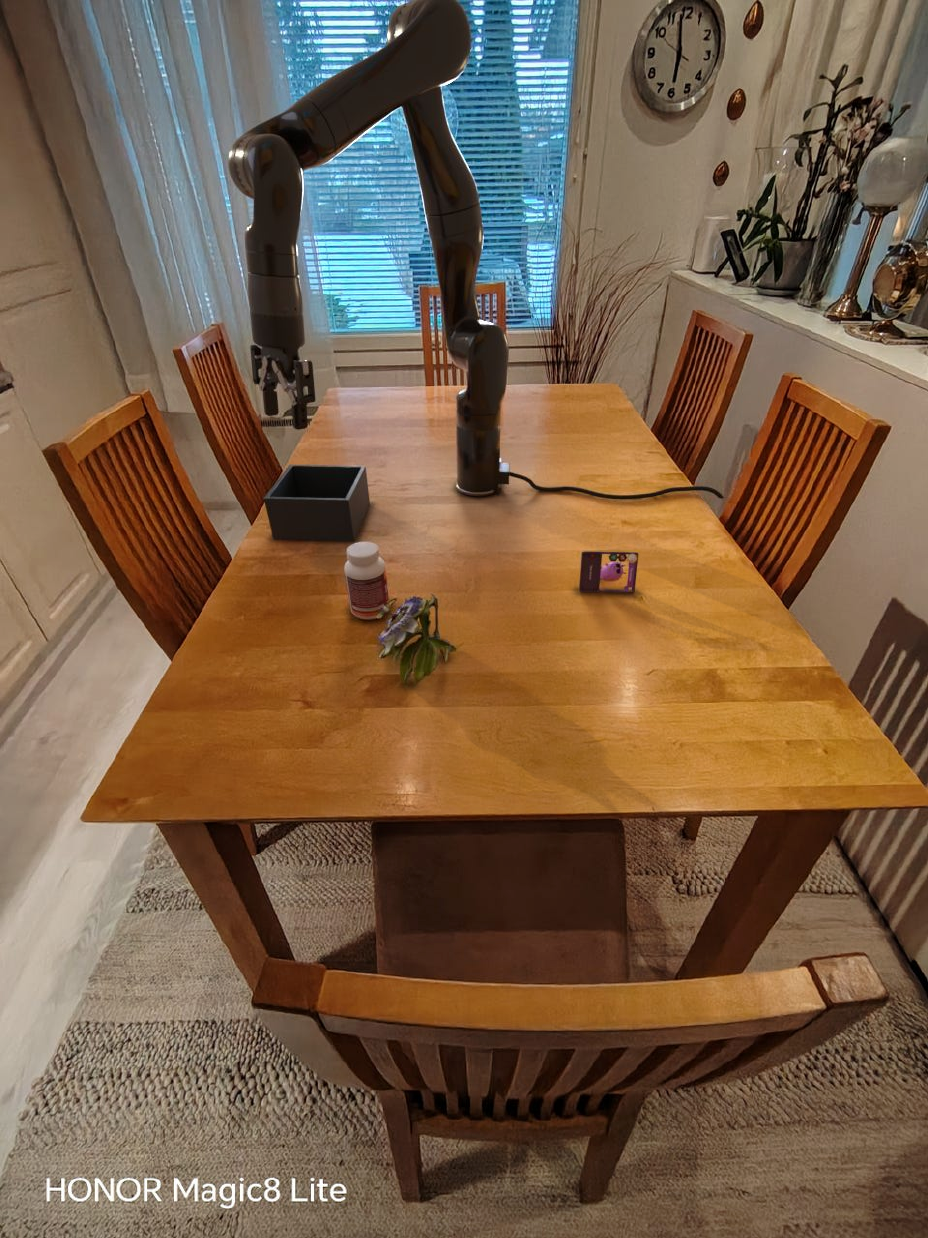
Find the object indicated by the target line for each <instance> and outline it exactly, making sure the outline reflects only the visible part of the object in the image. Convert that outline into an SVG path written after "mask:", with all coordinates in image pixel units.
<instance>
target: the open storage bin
mask: <svg viewBox="0 0 928 1238" xmlns="http://www.w3.org/2000/svg"><path fill="white" fill-rule="evenodd" d="M367 474H368V473H367V467H366V465H332V464H331V465H327V464H326V465H325V464H323V465H322V464H289V465H288V466H287V467H286V468H285V470H284V471H283V473H281V475H280V477H279V478H278V479H277V480H276V482H275V483H274V485H272V487H271V488H270V490H268V492H267V494H266V495H265V496H264V498H263V502H264V506H265V511H266V515H267V519H268V524H269V528H270V531H271V536H272V540H275V541H310V542H311V541H313V542H314V541H315V542H348V543H349V542H350V543H351V542H353V543H354V542H355V541H356V539H357V536H358V534H359V531H360V529H361V526H362V525H363V522H364V520H365V517H366V515H367V512H368V510H369V509H370V506H371V501H370V491H369V483H368V475H367Z"/></svg>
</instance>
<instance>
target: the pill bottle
mask: <svg viewBox="0 0 928 1238" xmlns="http://www.w3.org/2000/svg"><path fill="white" fill-rule="evenodd" d="M346 558H347V561H346V562H345V563H344V569H343V570H344V577H345V583H346V589H347V590H346V591H347V596H348V602H349V608H350V612H351V614H352V615H353V617H356V618H358V619H362V620H368V621H369V620H370V621H371V620H376V616H377V613H378V612H379V611H380V610H381V609H382V606H384V605H386V604H387V603H388V602H389V601H390V599H389V597H390V596H389V588H388V587H389V586H388V579H387V578H388V577H387V569H386V568H387V567H386V563H385V561H384V559H383V558H381V557H380V551H379V546H378V545H377V543H374V542H371V541H359V542H355V543H354V542H353V543H352V544H350V545H348V547H347V549H346Z"/></svg>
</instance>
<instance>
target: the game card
mask: <svg viewBox="0 0 928 1238" xmlns="http://www.w3.org/2000/svg"><path fill="white" fill-rule="evenodd" d="M603 555H609V556H608V559H609V561H610V562H608V563H604V564H605V565H604V566H602V562H603ZM627 555H628V556H627ZM617 560H618V561H617ZM626 560H627V562H628V571H627V572H625V571H624V567H627V565H626V564H622V563H623V562H626ZM638 562H639V553H638V552H637V551H601V550H600V551H599V550H598V551H596V550H586V551H585V550H582V551H581V557H580V568H579V569H580V571H579V584H578V591H579V592H580V593H605V594H606V593H609V594H610V593H611V594H618V593H619V594H635V592H636V583H637V574H638V564H639V563H638ZM623 575H627V582H626V585H625V586H624V587H623V589H600V587H601V586H600V585H601V580H603V581H604V582H611V583H612V582H616V581H618V580H620V579H623V577H622V576H623ZM630 588H631V589H630Z"/></svg>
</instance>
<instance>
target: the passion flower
mask: <svg viewBox="0 0 928 1238" xmlns="http://www.w3.org/2000/svg"><path fill="white" fill-rule="evenodd" d="M430 595H431V596H430V599H429V600H428V599H425V598H424V597H421V596H416V595H415V596H409V599H407V598H405V600H404V603H403V604H402V603H401V604H400V606H398V607H397V609H396V611H395V612H392V611H391V608H392V606H393V605H394V604H395V603H396V601H398V597H397V596H395V597H393V598H392V599H389V602H388V603H387V604H386V605H384V606H382V609H381V610H380V611H379V612H378V613H377V616H376V619H377V620H379V619H383V618H384V616H386V615H387V614H388V615H390V616H391V617H390V618H389V619H388V620H386V622H385V623H386V628H385V629H384V630H383V631H382V632H381V634H380V635H379V636H378V637H377V640H378V641H379V643H378V644H377V645H376V647H380V646H382V647H383V648H384V649H382V651H381V653H380V654H379V659H385V658H387V657H388V656H390V655H392V657H393V658H392V662H393V665H395V666H397V663H398V659H399V657H400V656H401V658H400V662H399V678H400V680H401V681H402V682H404V683H405V684H406V685H407V686H408V685H409V679H410V676H411V674H412V672H413V682H414V684H418V683H420V682H421V681H423V680H424V678H425V677H429V676H430V675H431V674H433V672H434V671H435V670H436V668H437V666H438V665H439V664H438V663H439V660H440V654H441V655H442V658H443V659H444V662H445V663H448V662H449V657H450V653H451V652H456V651H457V647H456V646H455V645H454V644H452V643H451V642H449V641H448V640H446V639H444V638H441V634H440V632H439V610H438V609H439V601H438V600H439V599H438V598H437V597H436V596H435V595H434V593H431V594H430ZM431 607H434V612H435V613H434V615H435V616H434V617H435V618H434V619H435V620H434V621H435V622H434V623H435V624H434V625H435V628H434V631H433V633H432V634H430V627H431V624H432V621H431V620H430V617H431V616H430V615H431V610H430V609H431ZM376 619H375V620H376ZM418 619H419V621H418ZM420 627H421V628H420ZM416 636H420V637H418V638H417V639H416V641H413V642H411V643H409V641H410V640H412V638H415V637H416ZM408 643H409V644H408ZM407 644H408V645H407ZM439 651H440V653H439ZM444 653H445V655H444ZM415 656H416V657H415ZM414 660H415V666H414ZM413 666H414V667H413Z"/></svg>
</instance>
